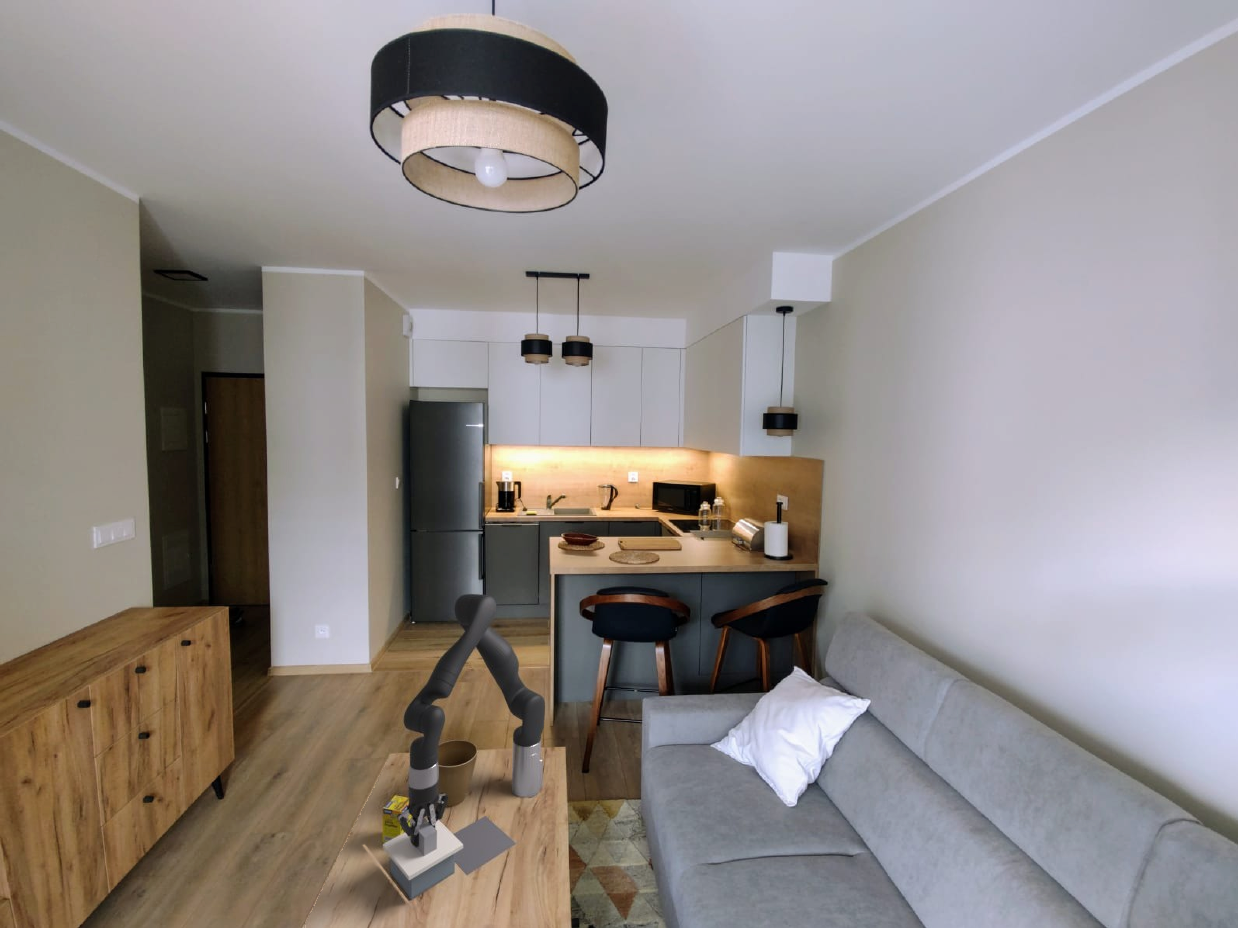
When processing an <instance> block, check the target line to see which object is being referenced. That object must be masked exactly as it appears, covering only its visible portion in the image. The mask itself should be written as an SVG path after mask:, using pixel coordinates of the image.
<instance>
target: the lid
mask: <svg viewBox="0 0 1238 928" xmlns="http://www.w3.org/2000/svg"><path fill="white" fill-rule="evenodd" d="M410 826H411V822H410ZM418 833H419V846H418V847H417V848H416V847H415V846H413V845H412V843H411V836H407V834H406V833H403V834H401V835H399V836H397V837H395V838H393V839H392V840H390V841H388V842H386V843H382V849H383V850H384V851H385V853H386V854H387V855H388V856H389V858H391V859H392V860H393V861H394V862H395V864H396V865H397V866H398V867H399V869H400V870H401V871H402V872H403V874H404V875H405V876H406V877H407V879H408V880H411V879H412V878H414V877H416V876H417V875H419V874H421V873H422V872H424V871H426V870H427V869H429V868H431V867H432V866H434V865H436V864H437V863H439V862H441V861H442V860H444V859H446V858H448V857H449V856H451V855H453V854H454V853H456V852H458V851H459V850H461V849H463V844H462V843H461V842H460V841H459V840H458V839H457V838H456V837H455V836H454V835H453V834H454V833H452V831H450V829H448V827H446V825H444V824H443V823H442V822H441V821H440V820H438V821H437V822H436V824H435V828H434V827H433V826H432V825H431V824H430V823H429V821H428V819H426V817H424V818H423V819H422V823H421V825H420V827H419V832H418Z"/></svg>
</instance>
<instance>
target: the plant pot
mask: <svg viewBox="0 0 1238 928" xmlns="http://www.w3.org/2000/svg"><path fill="white" fill-rule="evenodd" d="M478 752H479V751H478V746H477V745H476V744H475V743H474V742H472V741H469V740H464V739H452V740H447V741H443V742H441V743H439V745H438V766H439V791H438V794H441V793H442V792H444V793H445V794H446V795H447V796H448V801H447V804H446V807H447V808H451V807H456V806H459V805H460V804H461V803H462V802H463V801H464V800H465V797H466V796H467V794H468V793H467V792H468V790H469V788H470V784H471V781H472V779H473V774H474V770H475V766H476V762H477V756H478ZM446 807H445V808H446Z"/></svg>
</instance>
